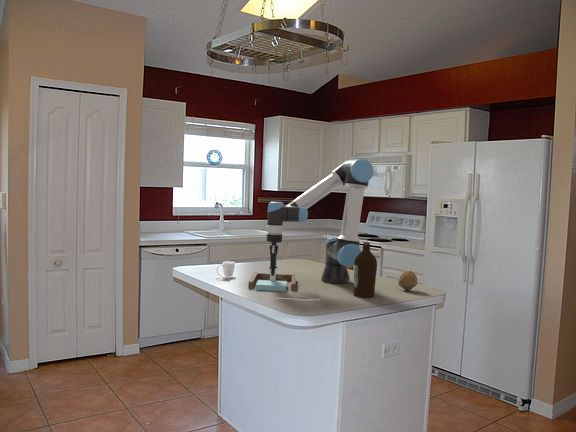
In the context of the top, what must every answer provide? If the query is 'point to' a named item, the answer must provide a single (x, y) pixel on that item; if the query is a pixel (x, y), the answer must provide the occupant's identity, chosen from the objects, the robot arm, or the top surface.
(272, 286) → the cover plate
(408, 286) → the natural sponge
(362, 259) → the olive oil
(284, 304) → the top surface
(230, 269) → the cup
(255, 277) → the walnut box
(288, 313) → the top surface
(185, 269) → the top surface
